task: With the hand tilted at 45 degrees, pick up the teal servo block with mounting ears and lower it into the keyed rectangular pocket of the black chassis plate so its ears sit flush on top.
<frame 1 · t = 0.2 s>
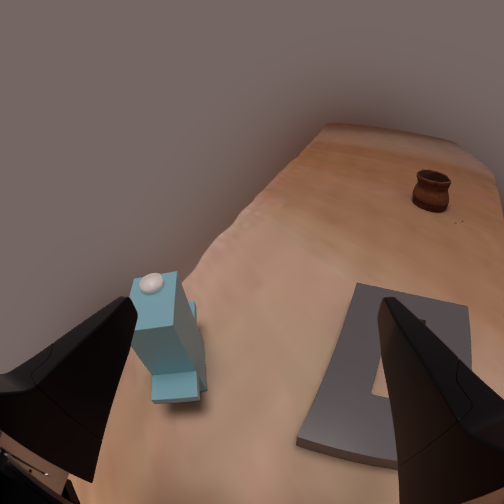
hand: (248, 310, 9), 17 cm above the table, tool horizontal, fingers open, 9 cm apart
servo: (186, 367, 25), on the table
ceramic pot: (429, 206, 49), on the table
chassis: (398, 379, 21), on the table
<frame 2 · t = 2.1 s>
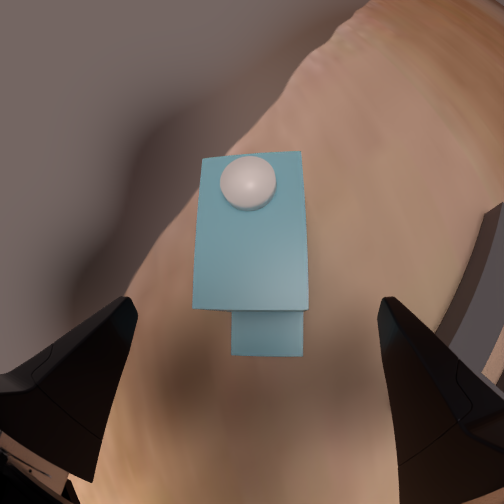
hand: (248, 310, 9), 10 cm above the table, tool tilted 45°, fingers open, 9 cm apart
servo: (272, 270, 19), on the table
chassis: (497, 342, 15), on the table
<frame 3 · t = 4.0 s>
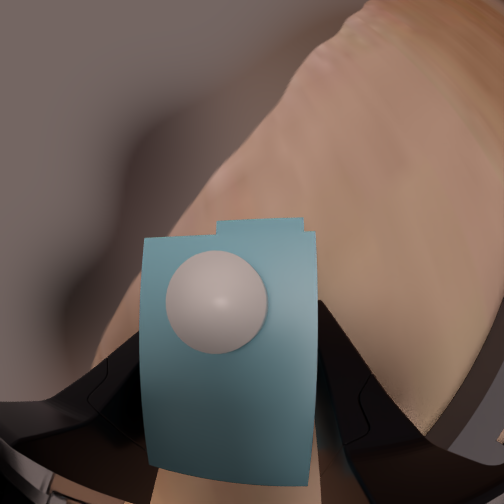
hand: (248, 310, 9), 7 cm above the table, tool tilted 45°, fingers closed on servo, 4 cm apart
servo: (267, 335, 15), on the table, touching gripper
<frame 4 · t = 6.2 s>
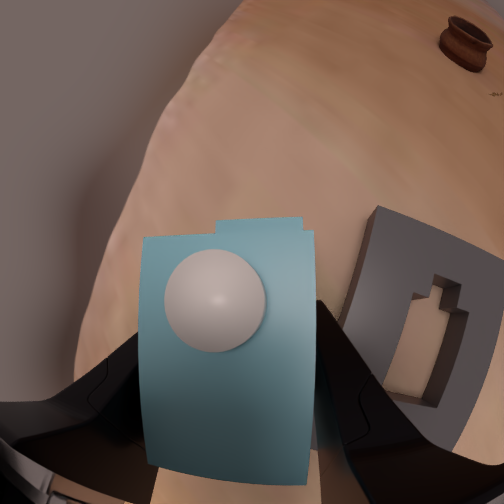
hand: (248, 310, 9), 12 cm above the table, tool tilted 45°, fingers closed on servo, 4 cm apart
servo: (267, 335, 15), point 5 cm above the table, touching gripper
ceramic pot: (459, 58, 24), on the table
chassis: (412, 349, 18), on the table
when the fingers open (8 cm above the table, at t = 8.4 s): servo stays where it is, resting in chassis.
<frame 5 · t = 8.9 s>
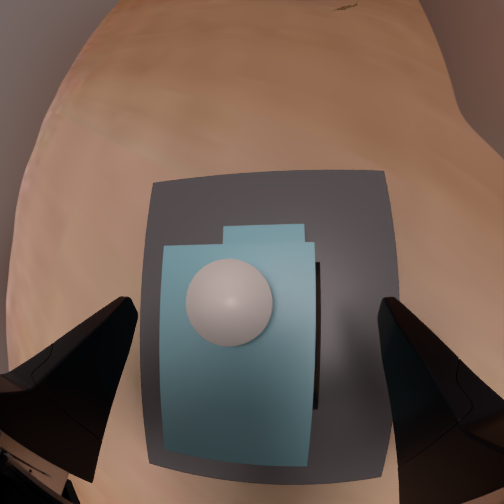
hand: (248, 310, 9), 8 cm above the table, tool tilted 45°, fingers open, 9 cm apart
servo: (269, 333, 16), resting in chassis
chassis: (269, 334, 16), on the table
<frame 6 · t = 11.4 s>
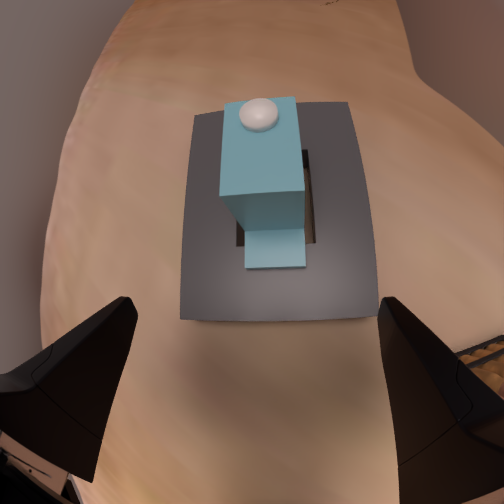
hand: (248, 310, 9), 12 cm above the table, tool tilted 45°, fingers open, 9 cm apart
servo: (277, 208, 23), resting in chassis
ammunition clip: (463, 359, 17), on the table
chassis: (277, 208, 23), on the table
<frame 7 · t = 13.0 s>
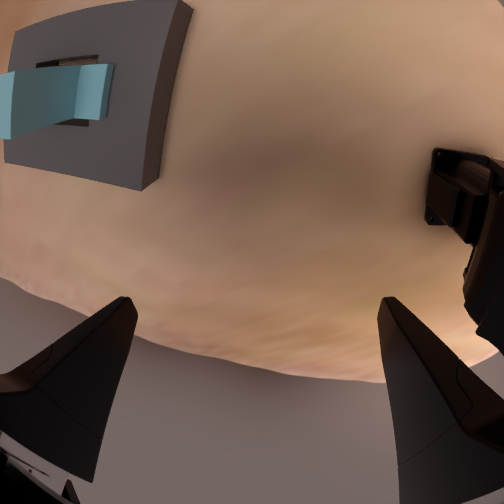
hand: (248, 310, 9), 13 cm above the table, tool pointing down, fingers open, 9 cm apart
servo: (81, 88, 16), resting in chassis
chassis: (81, 88, 16), on the table
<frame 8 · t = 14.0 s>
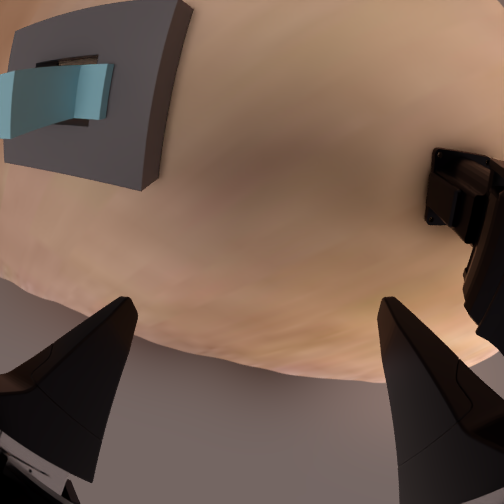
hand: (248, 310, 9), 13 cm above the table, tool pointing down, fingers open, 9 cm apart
servo: (81, 87, 16), resting in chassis
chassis: (81, 88, 16), on the table
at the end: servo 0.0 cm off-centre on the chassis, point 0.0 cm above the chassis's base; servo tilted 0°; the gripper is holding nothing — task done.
